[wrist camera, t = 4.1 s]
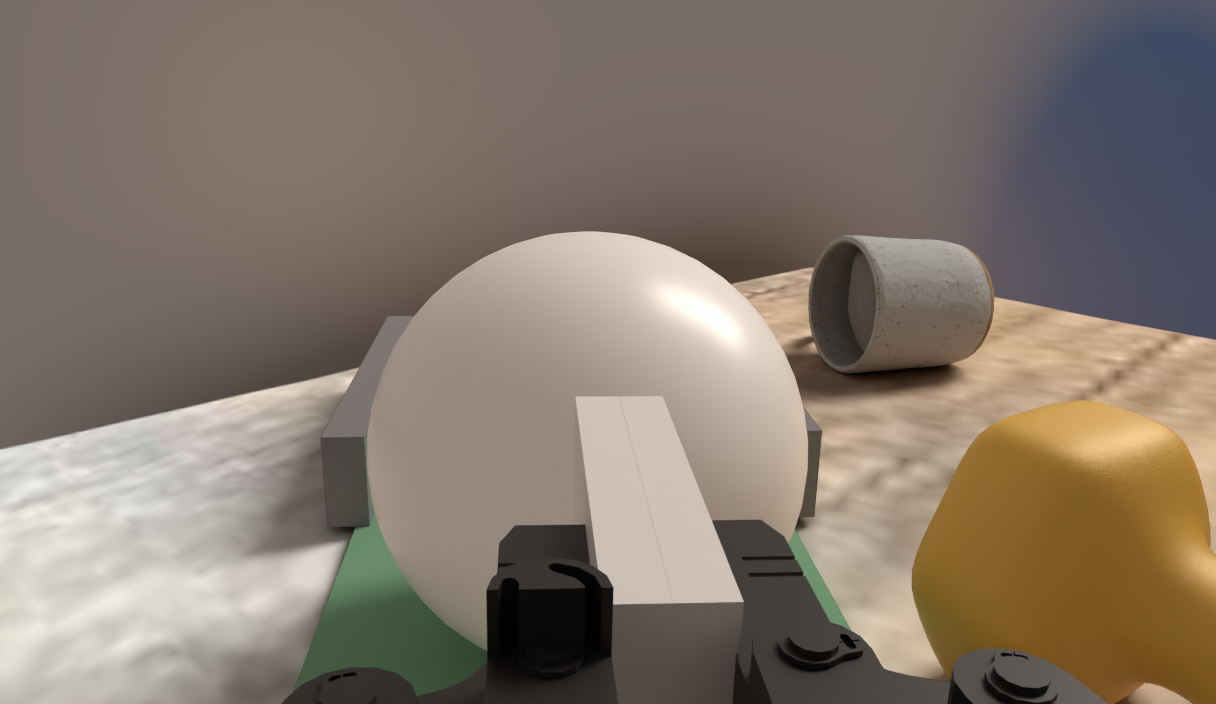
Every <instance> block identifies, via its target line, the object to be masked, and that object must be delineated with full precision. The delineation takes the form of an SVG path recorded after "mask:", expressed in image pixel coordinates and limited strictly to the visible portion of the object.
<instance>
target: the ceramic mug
mask: <svg viewBox="0 0 1216 704" xmlns="http://www.w3.org/2000/svg"><path fill="white" fill-rule="evenodd" d="M808 310H809V322H810V328H811V332H812V336H813V341H814V343H815V345H816V348H817V350H818V352H819V354H820V356H821V357H822V358H823V360H824V361H825V363H826V364H828V365H829V366H830V367H831V368H832V369H834V370H836V371H838V372H842V373H859V372H872V371H886V370H896V369H905V368H917V367H932V366H941V365H946V364H950V363H954V362H957V361H961V360H963V359H965V358H968V357H969V356H970V355H972V354H973V353H975V351H976V350H977V349H978V348H979V347H980V346H981V345H982V343H983V341H984V339H985V337H986V335H987V333H988V331H989V329H990V326H991V323H992V319H993V312H994V291H993V287H992V283H991V279H990V276H989V273H988V271H987V269H986V267H985V265H984V264H983V262H982V261H981V259H980V258H979V257H978V256H977V255H976V254H974V253H973V252H972V251H970V250H969V249H968V248H966V247H963V246H960V245H957V244H953V243H949V242H945V241H939V240H919V239H918V240H917V239H916V240H915V239H897V238H882V237H868V236H843V237H840V238H837V239H835V240H834V241H832V242H831V243H830V244H829V245H828V246H827V247H826V248H825V249H824V251H823V252H822V253H821V255H820V257H819V258H818V260H817V263H816V266H815V268H814V271H813V274H812V278H811V283H810V288H809V306H808Z"/></svg>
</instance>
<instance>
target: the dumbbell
mask: <svg viewBox="0 0 1216 704" xmlns="http://www.w3.org/2000/svg"><path fill="white" fill-rule="evenodd" d="M1210 540H1211V539H1210V522H1209V514H1208V508H1207V504H1206V499H1205V495H1204V491H1203V487H1202V483H1201V480H1200V476H1199V473H1198V470H1197V468H1196V465H1195V463H1194V460H1193V458H1192V456H1191V454H1190V452H1189V450H1188V448H1187V446H1186V445H1185V443H1184V442H1183V440H1182V439H1181V438H1180V437H1179V436H1178V435H1177V434H1176V433H1174V432H1173V431H1172V430H1171V429H1170V428H1168V427H1166V426H1164V425H1162V424H1160V423H1158V422H1156V421H1154V420H1151V419H1149V418H1146V417H1143V416H1141V415H1138V414H1135V413H1132V412H1129V411H1126V410H1123V409H1120V408H1116V407H1113V406H1110V405H1107V404H1103V403H1100V402H1094V401H1073V402H1066V403H1060V404H1054V405H1049V406H1045V407H1041V408H1037V409H1033V410H1030V411H1026V412H1022V413H1019V414H1016V415H1013V416H1010V417H1007V418H1005V419H1002V420H1000V421H998V422H996V423H994V424H992V425H991V426H989V427H988V428H987V429H985V430H984V431H983V432H982V433H980V434H979V435H978V437H977V438H976V439H975V440H974V441H973V443H972V444H971V445H970V447H969V448H968V450H967V452H966V453H965V455H964V457H963V458H962V460H961V462H960V464H959V466H958V468H957V470H956V472H955V474H954V475H953V477H952V479H951V481H950V483H949V485H948V487H947V490H946V492H945V494H944V496H943V498H942V500H941V502H940V504H939V506H938V508H937V510H936V512H935V514H934V516H933V518H932V520H931V522H930V524H929V526H928V528H927V531H926V533H925V535H924V537H923V539H922V541H921V544H920V546H919V549H918V551H917V554H916V557H915V561H914V565H913V569H912V591H913V596H914V601H915V605H916V608H917V611H918V614H919V617H920V620H921V623H922V625H923V628H924V630H925V633H926V635H927V638H928V640H929V642H930V645H931V647H932V649H933V651H934V653H935V655H936V657H937V659H938V661H939V663H940V664H941V666H942V668H943V669H944V671H945V673H946V674H947V676H948V677H949V678H950V679H951V675H952V668H953V666H954V664H955V663H956V662H957V660H958V659H959V658H960V656H961V655H964V654H966V653H969V652H972V651H974V650H977V649H994V648H1002V649H1011V650H1013V651H1014V650H1018V651H1022V652H1026V653H1029V654H1031V655H1033V656H1036V657H1039V658H1041V659H1044V660H1047V661H1049V662H1051V663H1053V664H1055V665H1056V666H1058V667H1059V668H1061V669H1063V670H1064V671H1066V672H1068V673H1069V674H1071V675H1072V676H1074V677H1075V678H1076V679H1077V680H1079V681H1080V682H1081V683H1082V684H1084V685H1085V686H1086V687H1088V688H1089V689H1090V690H1091V691H1093V692H1094V693H1095V694H1097V695H1098V696H1099V697H1100V698H1102V699H1103V700H1104V701H1105V702H1107V703H1108V704H1115V703H1117V702H1119V701H1120V700H1122V699H1123V698H1125V697H1126V696H1128V695H1129V694H1131V693H1132V692H1134V691H1135V690H1136V689H1138V688H1139V687H1140V686H1141V685H1143V684H1144V683H1151V684H1155V685H1159V686H1162V687H1164V688H1166V689H1168V690H1170V691H1173V692H1175V693H1177V694H1178V695H1180V696H1181V697H1183V698H1185V699H1186V700H1188V701H1189V702H1191V703H1192V704H1216V555H1215V554H1214V553H1213V551H1212V550H1211V549H1210Z"/></svg>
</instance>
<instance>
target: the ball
mask: <svg viewBox="0 0 1216 704" xmlns="http://www.w3.org/2000/svg"><path fill="white" fill-rule="evenodd" d="M575 396H663V399H664V401H665V404H666V406H667V409H668V411H669V414H670V416H671V419H672V421H673V424H674V426H675V429H676V432H677V434H678V437H679V439H680V442H681V444H682V447H683V449H684V452H685V454H686V457H687V459H688V462H689V464H690V467H691V469H692V472H693V475H694V477H695V480H696V482H697V485H698V487H699V490H700V492H701V495H702V497H703V500H704V502H705V505H706V507H707V510H708V512H709V515H710V518H711V520H762V521H764V522H765V523H766V524H768V525H769V526H770V527H772V528H773V529H775V530H776V531H777V532H779V533H780V534H782V535H783V536H784V537H785V539H786V541H787V542H788V543H789V541H790V539H791V537H792V535H793V533H794V530H795V527H796V523H797V520H798V517H799V514H800V511H801V508H802V502H803V496H804V490H805V483H806V477H807V469H808V436H807V429H806V421H805V414H804V409H803V404H802V400H801V397H800V393H799V389H798V386H797V382H796V379H795V376H794V373H793V371H792V369H791V367H790V364H789V362H788V360H787V357H786V355H785V353H784V351H783V349H782V348H781V346H780V344H779V343H778V341H777V339H776V338H775V336H774V335H773V333H772V331H771V330H770V328H769V327H768V325H767V323H766V322H765V320H764V319H763V318H762V317H761V316H760V314H759V313H758V312H757V311H756V310H755V308H754V307H753V306H752V305H751V304H750V302H749V301H748V300H747V299H746V298H745V297H744V296H743V295H741V294H740V293H739V292H738V291H737V290H736V289H735V288H734V287H733V286H732V285H731V284H729V283H728V282H727V281H726V280H725V279H724V278H723V277H721V276H720V275H718V274H717V273H715V272H714V271H712V270H710V269H709V268H708V267H706V266H705V265H703V264H702V263H701V262H699V261H697V260H695V259H693V258H691V257H689V256H687V255H685V254H683V253H681V252H679V251H676V250H675V249H673V248H670V247H668V246H665V245H662V244H659V243H656V242H652V241H649V240H646V239H643V238H639V237H635V236H630V235H624V234H615V233H606V232H571V233H561V234H560V233H559V234H552V235H546V236H541V237H538V238H534V239H531V240H527V241H523V242H520V243H516V244H513V245H511V246H508V247H506V248H504V249H502V250H499V251H497V252H495V253H493V254H491V255H488V256H486V257H484V258H482V259H480V260H479V261H477V262H476V263H474V264H473V265H471V266H470V267H468V268H466V269H465V270H463V271H462V272H460V273H459V274H457V275H456V276H455V277H453V278H452V279H451V280H450V281H449V282H448V283H446V284H445V285H444V286H443V287H442V288H441V289H439V290H438V291H437V292H436V293H435V294H434V295H433V296H432V297H431V298H430V299H429V300H428V301H427V302H426V304H425V305H424V306H423V307H422V308H421V309H420V310H419V312H418V313H417V314H416V315H415V316H414V317H413V319H412V320H411V321H410V323H409V324H408V326H407V327H406V329H405V331H404V332H403V334H402V335H401V337H400V338H399V340H398V341H397V343H396V344H395V346H394V348H393V350H392V352H391V354H390V356H389V358H388V361H387V363H386V365H385V367H384V369H383V371H382V374H381V378H380V381H379V384H378V387H377V391H376V394H375V397H374V401H373V405H372V409H371V415H370V421H369V428H368V434H367V468H368V478H369V485H370V492H371V500H372V504H373V508H374V511H375V515H376V518H377V521H378V525H379V528H380V531H381V533H382V535H383V538H384V540H385V542H386V544H387V547H388V549H389V551H390V553H391V555H392V557H393V559H394V561H395V564H396V565H397V567H398V568H399V570H400V571H401V573H402V574H403V576H404V577H405V578H406V580H407V581H408V583H409V584H410V586H411V587H412V588H413V590H414V591H415V593H416V594H417V595H418V597H419V598H420V599H421V600H422V601H423V602H424V603H425V604H426V605H427V606H428V607H429V608H430V609H431V610H432V611H433V612H434V613H435V614H436V615H437V616H438V617H439V618H440V619H441V620H442V621H443V622H444V623H445V624H446V625H448V626H449V627H450V628H452V629H453V630H455V631H456V632H458V633H459V634H460V635H462V636H463V637H465V638H466V639H468V640H469V641H471V642H472V643H474V644H475V645H476V646H478V647H480V648H482V649H484V650H486V651H487V602H486V590H487V587H488V585H489V583H490V581H491V579H492V577H493V576H495V575H496V574H497V567H498V551H499V543H500V542H501V540H502V539H503V538H504V537H505V536H506V535H507V534H508V533H509V532H510V530H511V529H512V528H513V527H514V526H515V525H573V513H574V449H575Z"/></svg>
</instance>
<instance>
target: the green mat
mask: <svg viewBox="0 0 1216 704" xmlns="http://www.w3.org/2000/svg"><path fill="white" fill-rule="evenodd" d="M788 544H789V546H790V548H791V550H792V552H793V554H794V556H795V560H797V561H798V563H799V565H800V567H801V569H802V570H803V575H804V576H806V578H807V580H808V582H809V583H810V585H811V587H812V589H813V591H814V593H815V595H816V597H817V598H818V600H819V602H820V604H821V606H822V608H823V610H824V611H825V613H826V615H827V617H828V619H829V621H830V622H832V623H835V624H838V625H842V626H843V627H845V628H847V629H849V630H850V631H851V629H850V627H849V626H848V624H847V622H846V620H845V618H844V617H843V615H842V613H841V611H840V609H839V608H838V606H837V604H836V602H835V600H834V599H833V597H832V595H831V593H830V591H829V590H828V588H827V586H826V584H825V582H824V581H823V579H822V577H821V575H820V574H819V572H818V570H817V568H816V566H815V565H814V563H813V561H812V559H811V557H810V556H809V554H808V552H807V550H806V548H805V547H804V545H803V543H802V541H801V539H800V538H799V536H798V534H797V532H796V530H794V533H793V535H792V537H791V539H790V541H789V543H788ZM486 660H487V651H486V650H484V649H482V648H480V647H478V646H476V645H475V644H474V643H472V642H471V641H469V640H468V639H466V638H465V637H463V636H462V635H460V634H459V633H458V632H456V631H455V630H453V629H452V628H450V627H449V626H448V625H446V624H445V623H444V622H443V621H442V620H441V619H440V618H439V617H438V616H437V615H436V614H435V613H434V612H433V611H432V610H431V609H430V608H429V607H428V606H427V605H426V604H425V603H424V602H423V601H422V600H421V599H420V598H419V597H418V595H417V594H416V593H415V591H414V590H413V588H412V587H411V586H410V584H409V583H408V581H407V580H406V578H405V577H404V576H403V574H402V573H401V571H400V570H399V568H398V567H397V565H396V564H395V561H394V559H393V557H392V555H391V553H390V551H389V549H388V547H387V544H386V542H385V540H384V538H383V535H382V533H381V531H380V528H379V525H378V521H377V518H376V515H375V512H374V515H373V518H372V521H371V524H370V526H358V527H355V530H354V532H353V535H352V538H351V540H350V543H349V546H348V548H347V551H346V554H345V556H344V559H343V562H342V564H341V567H340V570H339V572H338V575H337V578H336V580H335V583H334V586H333V588H332V591H331V593H330V596H329V599H328V601H327V604H326V607H325V609H324V612H323V615H322V617H321V620H320V623H319V625H318V628H317V631H316V633H315V636H314V639H313V641H312V644H311V647H310V649H309V652H308V655H307V657H306V660H305V663H304V665H303V668H302V671H301V673H300V676H299V679H298V681H297V684H296V687H295V689H294V691H295V690H296V689H297V688H298V687H300V686H301V685H302V684H303V683H306V682H308V681H310V680H312V679H314V678H316V677H318V676H320V675H322V674H324V673H328V672H332V671H336V670H341V669H345V668H350V667H376V668H380V669H383V670H387V671H391V672H394V673H397V674H399V675H400V676H401V677H403V678H404V679H405V680H407V681H408V682H410V683H411V684H412V686H413V689H414V691H415V693H416V696H419V695H423V694H427V693H431V692H435V691H439V690H442V689H445V688H448V687H451V686H454V685H456V684H458V683H460V682H462V681H463V680H465V679H467V678H469V677H471V676H472V675H473V674H474V673H475V672H477V671H478V670H479V669H480V668H481V667H482V666H483V665H484V663H485V662H486Z"/></svg>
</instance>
